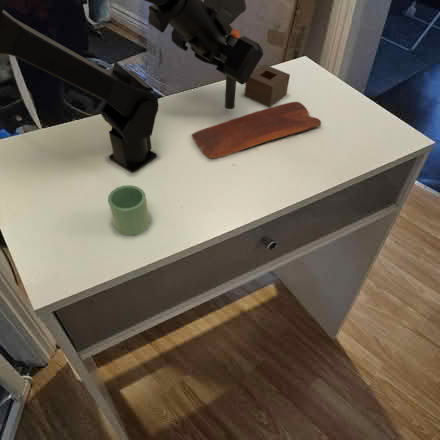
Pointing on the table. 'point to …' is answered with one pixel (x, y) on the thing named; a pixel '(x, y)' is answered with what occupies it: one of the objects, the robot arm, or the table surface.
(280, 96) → the pen stand
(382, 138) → the table surface
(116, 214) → the pen cup
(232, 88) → the stylus
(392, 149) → the table surface
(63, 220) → the table surface
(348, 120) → the table surface
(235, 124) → the wooden tablet
